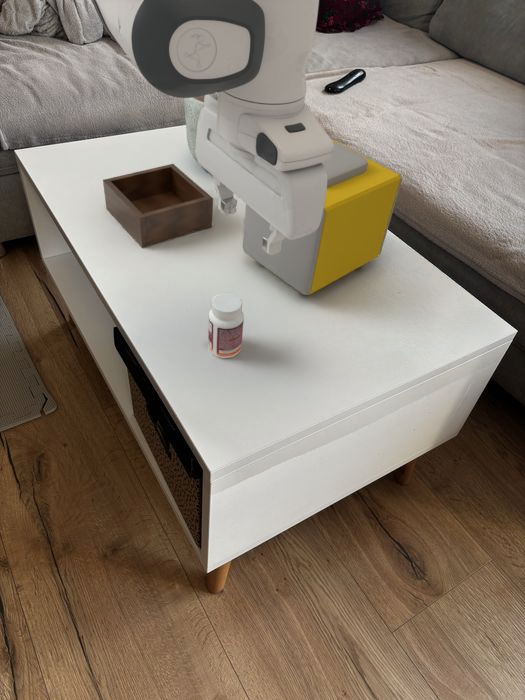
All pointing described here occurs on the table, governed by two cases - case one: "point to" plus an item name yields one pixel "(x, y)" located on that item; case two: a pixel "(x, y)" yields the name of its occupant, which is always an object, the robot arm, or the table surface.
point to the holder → (158, 204)
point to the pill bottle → (225, 325)
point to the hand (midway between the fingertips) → (248, 230)
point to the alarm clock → (333, 224)
